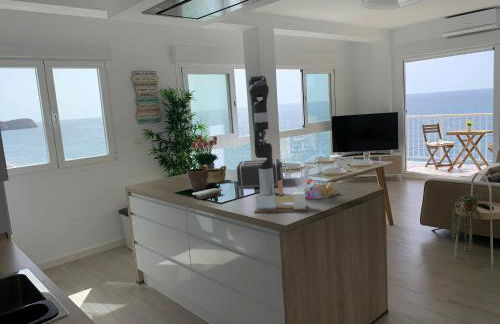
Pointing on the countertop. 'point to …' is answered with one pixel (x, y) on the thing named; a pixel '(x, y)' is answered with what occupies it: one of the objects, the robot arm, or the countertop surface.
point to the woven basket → (215, 174)
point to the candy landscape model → (318, 190)
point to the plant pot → (198, 178)
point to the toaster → (256, 173)
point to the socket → (299, 200)
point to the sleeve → (266, 202)
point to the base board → (282, 209)
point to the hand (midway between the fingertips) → (263, 150)
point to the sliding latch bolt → (281, 197)
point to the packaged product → (207, 193)
